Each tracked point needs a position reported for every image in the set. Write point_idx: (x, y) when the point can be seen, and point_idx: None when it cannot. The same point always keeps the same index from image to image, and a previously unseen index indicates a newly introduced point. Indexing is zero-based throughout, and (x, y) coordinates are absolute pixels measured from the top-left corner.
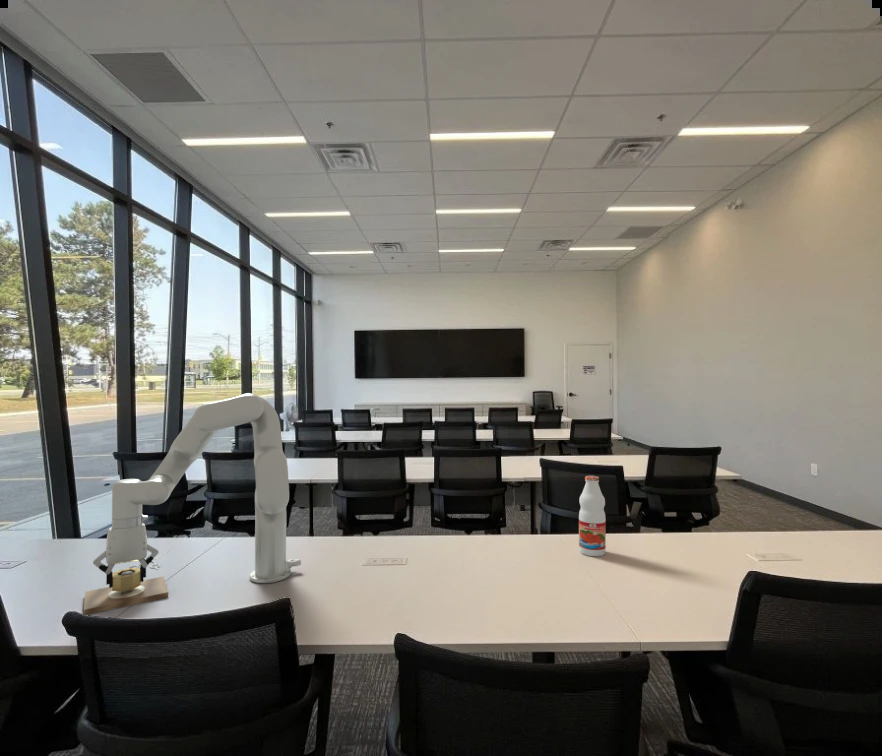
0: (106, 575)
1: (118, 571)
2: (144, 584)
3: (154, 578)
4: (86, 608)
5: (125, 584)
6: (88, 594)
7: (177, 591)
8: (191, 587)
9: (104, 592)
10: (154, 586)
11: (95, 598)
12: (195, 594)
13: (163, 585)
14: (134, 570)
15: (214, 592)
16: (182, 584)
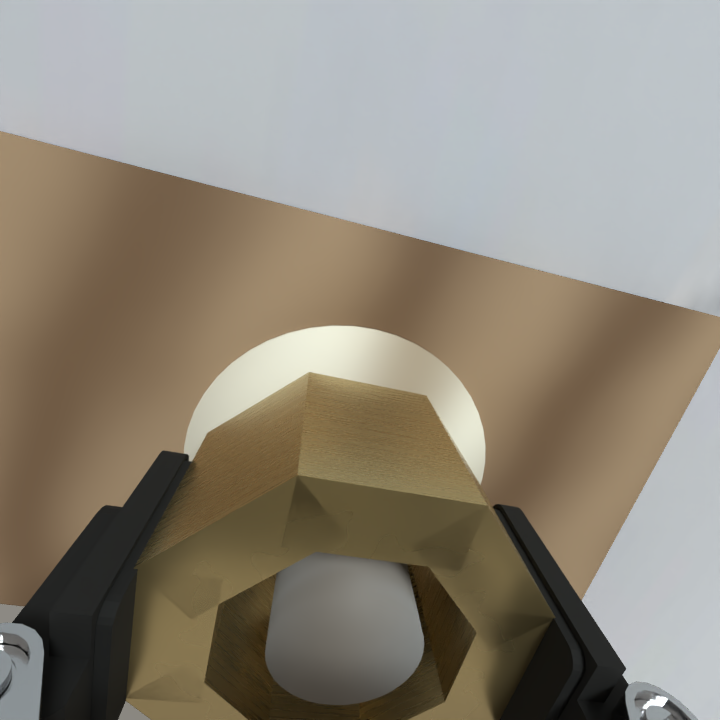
0: (35, 601)
1: (248, 542)
2: (515, 403)
3: (654, 312)
4: (5, 587)
5: None
6: (2, 262)
7: (615, 578)
8: (704, 575)
9: (164, 332)
10: (543, 510)
11: (74, 432)
12: (642, 676)
13: (596, 537)
14: (467, 615)
15: (712, 707)
16: (713, 488)
